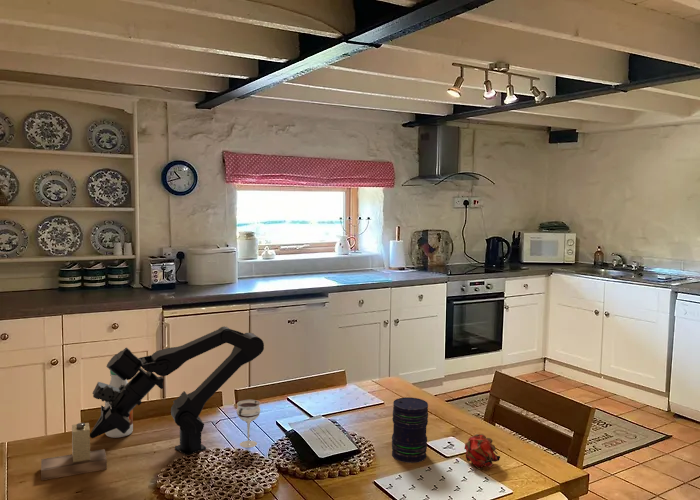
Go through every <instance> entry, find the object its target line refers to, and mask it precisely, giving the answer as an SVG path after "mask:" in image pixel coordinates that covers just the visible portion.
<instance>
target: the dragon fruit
mask: <svg viewBox="0 0 700 500" xmlns="http://www.w3.org/2000/svg"><path fill="white" fill-rule="evenodd" d="M492 443H493V439H492V437H491V438H490V437H487V436H486V435H485V434H484V433H479V434H478V433H477V434H473V435H472V436H470V437H469V438H468V439H467V442H465V444H464V450H465V452H466V453H465V459H466V461H467V462H471V463H472V465H473V466H474V467H475V468H476V469H479V470H483V471H484V468H483V467H488V468H491V467H492V466H493V465H494V463H496V462H499V461H500V459H501V456H500V455H499V454H498V452H497V451H496V448H497V447H495V445H494V444H492ZM493 462H494V463H493Z"/></svg>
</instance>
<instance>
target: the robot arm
mask: <svg viewBox="0 0 700 500" xmlns="http://www.w3.org/2000/svg"><path fill="white" fill-rule="evenodd" d="M224 344H228V345H230V346H231V345H232V346H233V348H232V351H231V352H230V354H229V355H228V356H227V357H226V358H225V360H224V361H222V362H221V364H219V366H217V367H216V369H215V370H214V371H212V372H211V373H210V374H209V375H208V377H207V378H205V380H204V381H202V383H201V384H200V385H198V387H196V388H195V390H193V391H192V392H190V393H187V392H186V391H183V392H181V394H180V395H179V397H177V398H176V399H175V400H172V401H173V404H172V405H171V408H170V414H171V417H172V419H173V421H174V422H175V424H176V425H177V426H179V444H178V445H175V446H174V449H175V450H177V451H178V452H180V453H181V454H183V455H185V456H188V455H192V454H194V453H197V452H200V451H204V450H206V449H207V447H206V446H205V445H203V444H202V431H203V429H204V427H205V423H204V422H203V420H202V419H201V417H200V415H201V413H202V411H203V408H204V406H205V404H206V403H207V402H208V401H209V399H210V398H212V396H214V395H215V394H216V393H217V391H218V390H220V388H221V387H223V385H224V384H225V383H226V382H227V381H228V380H229V379H230V378H231V377H233V375H235V373H236V372H237V371H238V370H239V369H240V368H241V367H242V366H244V365H246V364H247V363H250V362H252V361H253V360H255V359H256V358H257V357H259V356H260V355H261V354H262V353H263V351H264V349H265V347H264V346H265V342H264V341H263V339H262V338H260V337H259V336H258V335H256V334H254V333H253V332H245V333H243V332H241V331H239V330H235V329H232V328H229V327H228V326H223V325H222V326H221V327H219V328H218V329H216V330H214V331H211V332H209V333H206V334H205V335H202V336H200V337H198V338H195V339H194V340H191V341H189V342H186V343H185V344H183V345H179V346H175V347H174V346H173V347H167V348H163V349H160V350H156V351H155V352H153V353H152V354H150V355H145V356H141V357H138V356H136V355H135V354H134V353H133V352H132V351H131V350H130V349H129V348H128V347H124V349H122V350H120V351H119V352H118V353H116V354H114V355H112V357H111V358H110V360H109V361H108V362H107V364H106V368H107V369H108V370H109V371H110V370H111V371H112V372H113V373H115V374H116V375H117V376H118V377H120V378H121V379H122V380H126V379H127V381H128V383H127V384H126V386H125V385H121V386H120V387H119V388H116V387H114V386H111V385H109V384H107V383H104V382H102V381H97V383H96V385H95V388H94V389H93V391H92V397H93V398H94V399H96V400H101V402H105V401H106V402H107V404H106V405H105V404H104V406H103V405H100V409H101V410H100V416H99V418H98V420H97V421H96V423H95V424H94V426H93V428H92V430H90V439H94V438H96V437H99V436H101V435H103V434H105V433H106V432H108V431H111V430H113V429H116V428H117V429H118V430H119V431H121V432H122V433H124V434H125V433H126V432H127V430H128V429H129V428H130V422H129V419H128V417H129V416H130V413H129V412H130V411H131V410H132V409H133V410H134V408H135V407H136V406H140V405H142V403H143V402H142V400H143V399H144V398H145V397H146V396H147V395H148V394H149V392H151V391H152V390H153V388H154V387H156V386H157V387H158V388H159V389H161V390H162V389H164V380H165V379H164V377H166V376H168V375H169V376H170V375H171V374H172V373H174V372H175V371H176V370H178V369H179V368H181V366H182V365H184V364H185V363H186V362H188V361H189V360H191V359H193V358H196V357H198V356H200V355H202V354H205V353H207V352H209V351H211V350H213V349H215V348H218V347H220V346H222V345H224ZM157 375H158V376H157Z"/></svg>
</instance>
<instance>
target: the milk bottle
mask: <svg viewBox="0 0 700 500" xmlns="http://www.w3.org/2000/svg"><path fill="white" fill-rule="evenodd" d="M109 373H110V381H109V384H108V385H111V386H114V387H116V388H119V387H120V386H121V385H125V386H126V384H127V383H128V382H129V380H127V379H126V380H122V379H121V378H120V377H118V376H117V375H116V374H115V373H113V372H112V371H111V370H110V369H109ZM106 404H107V402H106V401H104V406H105V405H106ZM129 413H130V416H129V417H128V419H129V422H130V428H129V429H128V430H127V432H126V433H125V434H124V433H122V432H121V431H119V430H118V429H117V428H116V429H113V430H111V431H108V432H106V433H104V434H105V435H106V436H107V437H109V438H112V439H113V438H114V439H115V438H116V439H117V438H124V437H126V436H129V435H131V434H132V433H133V430H134V408H133V409H132V410H131V411H130V412H129Z"/></svg>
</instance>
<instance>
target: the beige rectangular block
mask: <svg viewBox="0 0 700 500" xmlns="http://www.w3.org/2000/svg"><path fill="white" fill-rule="evenodd" d="M90 433H91V429H90V423H89V422H78V423H76V424H72V425H71V448H72V450H71V451H72V453H71V454H72V455H73V462H79V461H86V460H90V451H91V437H90Z"/></svg>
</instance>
